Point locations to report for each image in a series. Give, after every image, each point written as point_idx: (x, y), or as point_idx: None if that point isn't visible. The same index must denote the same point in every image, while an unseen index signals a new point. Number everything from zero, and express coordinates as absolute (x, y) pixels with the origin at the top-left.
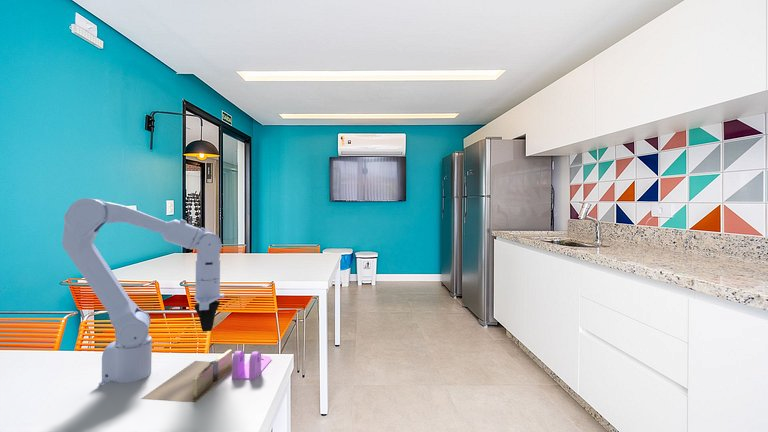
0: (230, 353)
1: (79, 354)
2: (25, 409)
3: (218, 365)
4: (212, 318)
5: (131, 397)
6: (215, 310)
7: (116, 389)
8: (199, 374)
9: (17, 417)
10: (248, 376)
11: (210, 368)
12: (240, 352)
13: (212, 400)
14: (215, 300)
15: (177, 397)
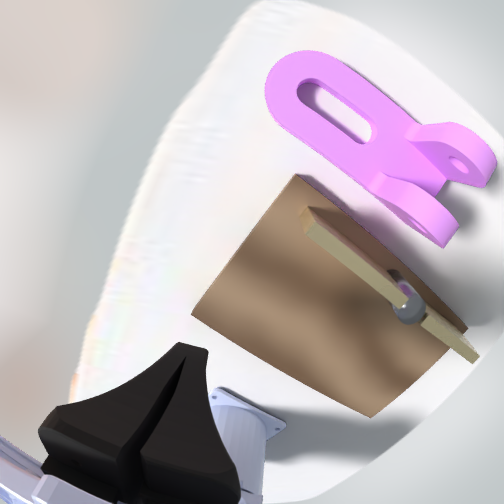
0: (326, 228)
1: None
2: (272, 496)
3: (395, 284)
4: (210, 407)
5: (327, 425)
6: (226, 455)
7: (268, 442)
8: (463, 351)
9: (293, 498)
10: (434, 176)
11: (437, 320)
12: (453, 217)
13: (463, 287)
14: (44, 443)
15: (422, 363)
